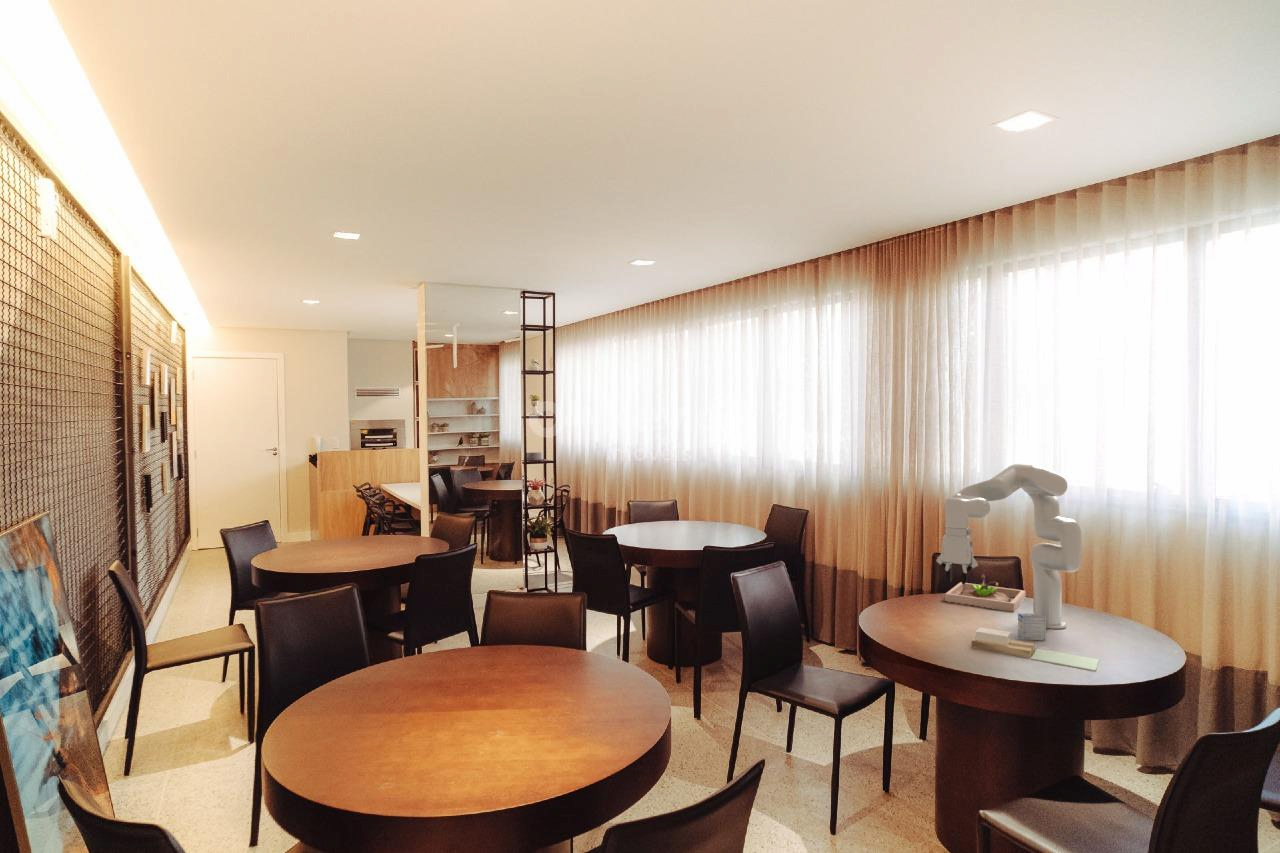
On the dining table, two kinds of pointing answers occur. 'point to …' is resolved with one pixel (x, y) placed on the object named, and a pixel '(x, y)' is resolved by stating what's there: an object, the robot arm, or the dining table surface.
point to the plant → (986, 592)
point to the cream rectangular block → (993, 636)
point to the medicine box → (1031, 626)
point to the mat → (1065, 659)
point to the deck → (1007, 647)
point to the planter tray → (988, 603)
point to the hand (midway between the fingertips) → (956, 581)
